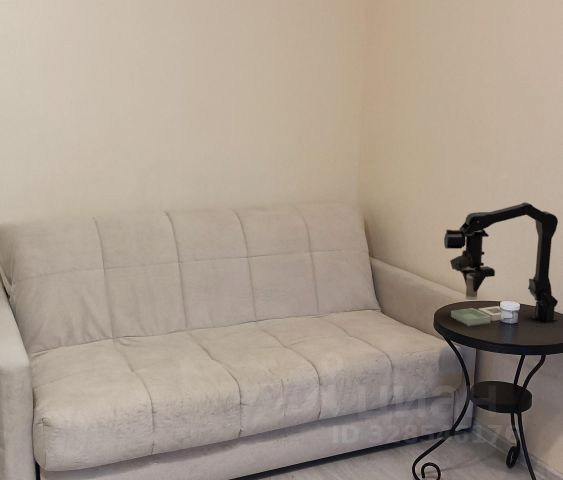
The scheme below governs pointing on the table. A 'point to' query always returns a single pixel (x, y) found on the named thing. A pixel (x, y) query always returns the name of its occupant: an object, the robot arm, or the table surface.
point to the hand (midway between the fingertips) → (471, 290)
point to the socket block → (492, 312)
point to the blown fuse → (470, 288)
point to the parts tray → (470, 317)
